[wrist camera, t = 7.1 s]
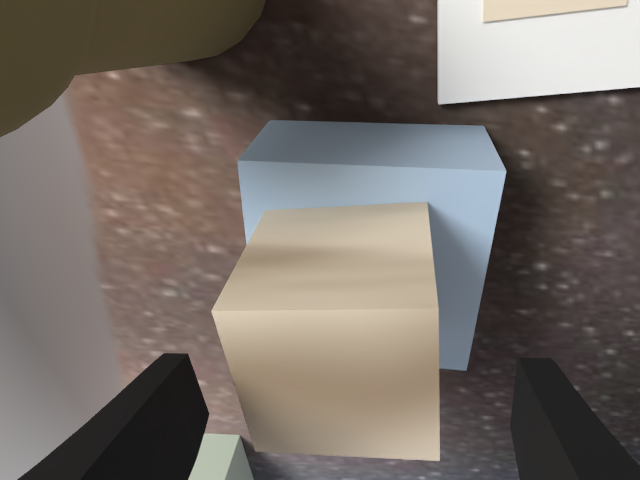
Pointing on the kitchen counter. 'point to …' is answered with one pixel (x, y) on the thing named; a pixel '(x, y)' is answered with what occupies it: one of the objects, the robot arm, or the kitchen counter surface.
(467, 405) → the kitchen counter surface
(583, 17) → the tile
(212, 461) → the sage green block
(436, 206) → the blue base block
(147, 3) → the cork
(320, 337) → the birch block
